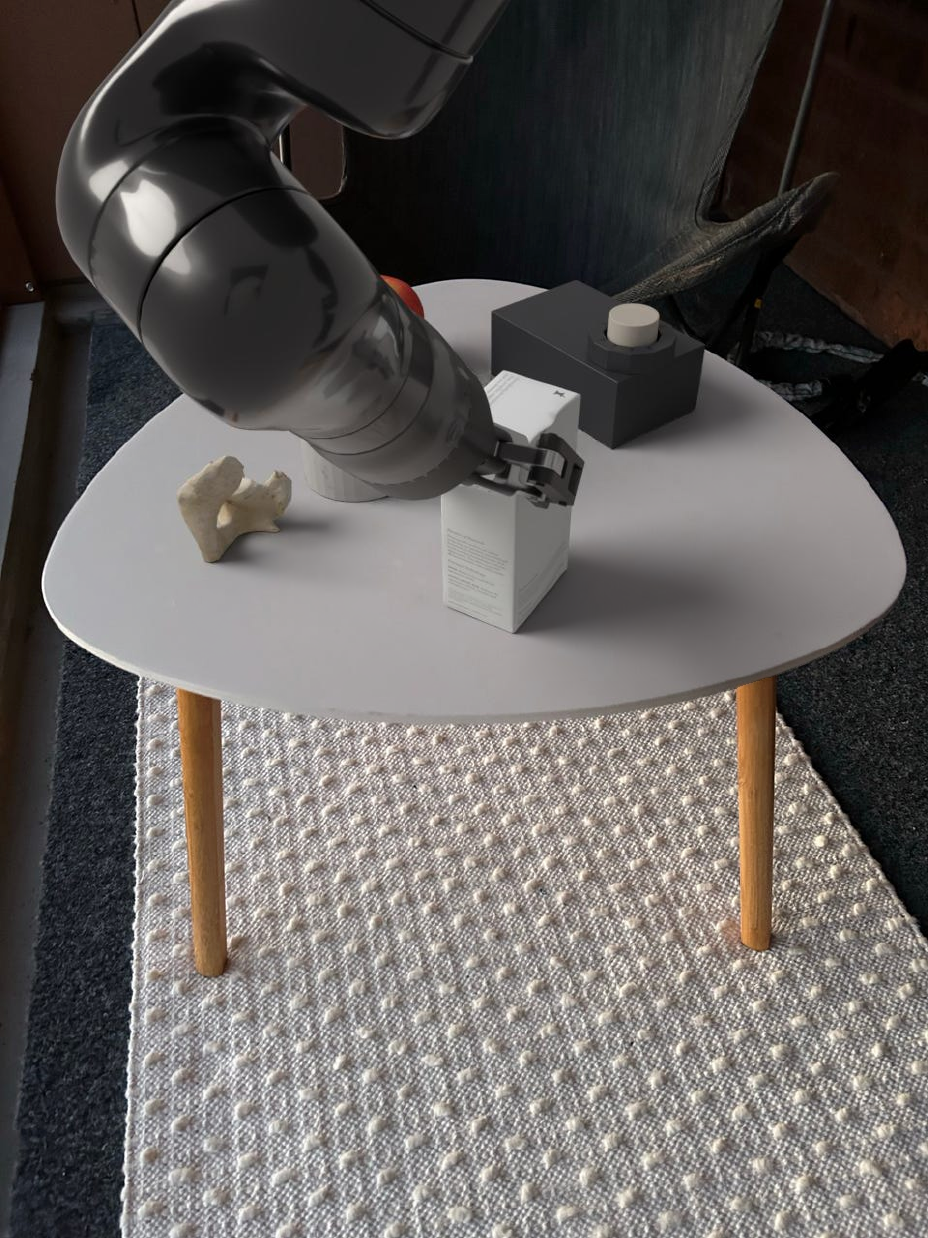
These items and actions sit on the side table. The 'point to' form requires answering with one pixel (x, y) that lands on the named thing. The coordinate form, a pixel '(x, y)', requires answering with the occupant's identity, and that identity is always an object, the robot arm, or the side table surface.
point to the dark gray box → (597, 361)
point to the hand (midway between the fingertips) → (479, 476)
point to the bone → (230, 504)
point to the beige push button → (633, 325)
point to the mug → (334, 479)
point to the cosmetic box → (509, 517)
